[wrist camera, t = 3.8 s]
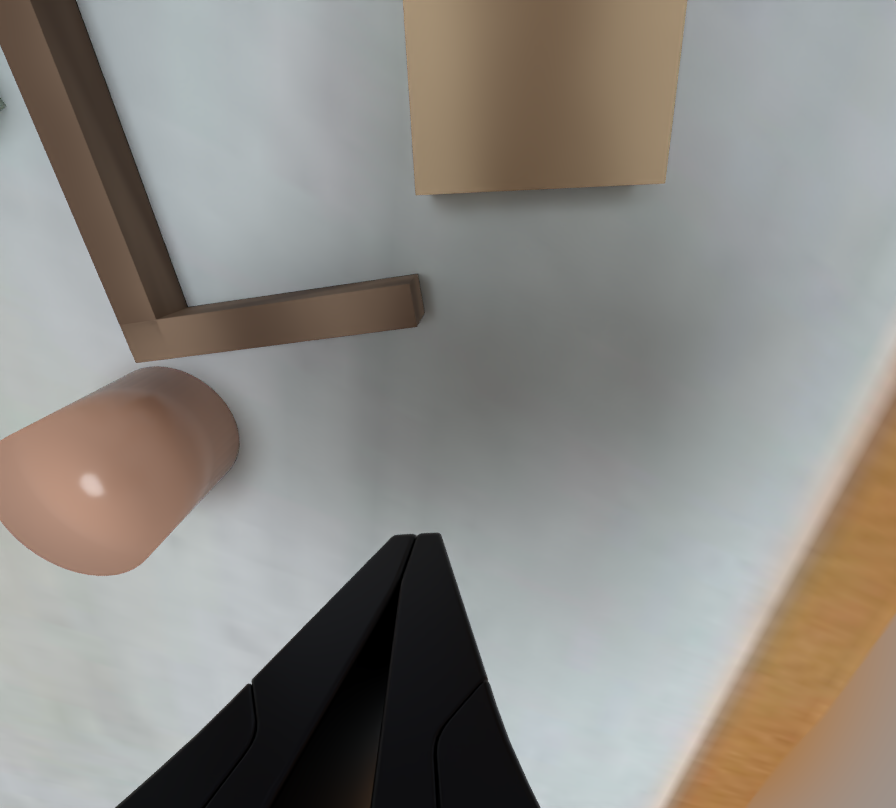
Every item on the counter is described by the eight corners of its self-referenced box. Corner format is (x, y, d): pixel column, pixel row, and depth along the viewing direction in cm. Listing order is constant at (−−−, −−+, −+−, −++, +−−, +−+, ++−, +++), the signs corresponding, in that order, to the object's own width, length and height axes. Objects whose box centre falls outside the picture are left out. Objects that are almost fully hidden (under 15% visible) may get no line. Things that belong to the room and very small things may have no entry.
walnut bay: (332, -212, 13) (307, -274, 12) (424, 313, 19) (417, 326, 17) (-12, -109, 15) (-83, -149, 13) (167, 347, 21) (136, 363, 19)
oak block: (659, -85, 14) (707, -165, 11) (632, 183, 17) (664, 183, 14) (416, -61, 15) (394, -129, 12) (430, 193, 18) (415, 195, 14)
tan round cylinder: (213, 358, 21) (111, 421, 15) (256, 479, 23) (182, 571, 18) (87, 374, 22) (-51, 439, 16) (142, 489, 24) (37, 579, 18)
